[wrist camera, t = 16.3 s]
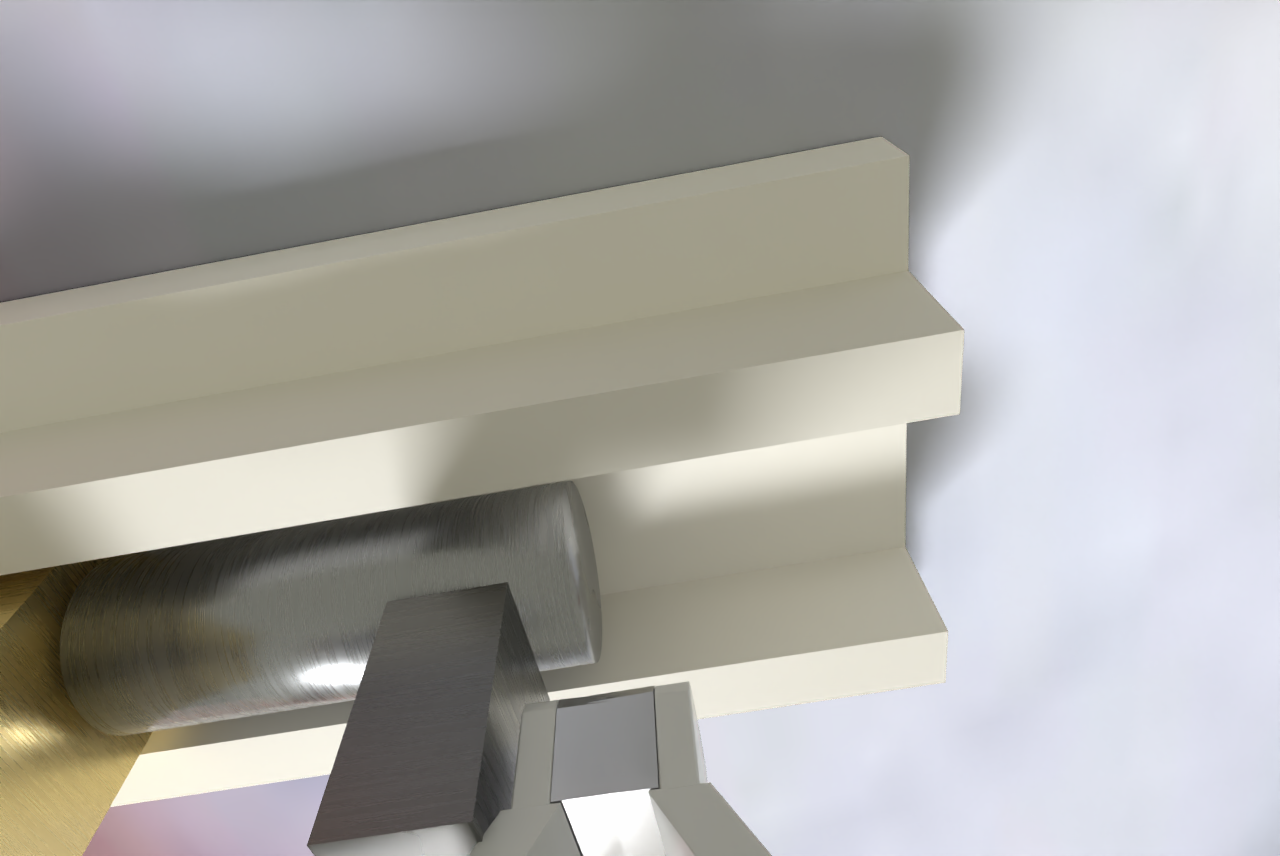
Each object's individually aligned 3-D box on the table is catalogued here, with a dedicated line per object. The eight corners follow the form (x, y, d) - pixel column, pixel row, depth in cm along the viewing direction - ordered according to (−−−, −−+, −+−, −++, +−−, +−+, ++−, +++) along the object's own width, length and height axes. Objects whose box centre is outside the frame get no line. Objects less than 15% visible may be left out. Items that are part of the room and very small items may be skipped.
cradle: (881, 136, 14) (970, 197, 11) (884, 609, 20) (941, 743, 17) (-246, 348, 15) (-489, 464, 12) (90, 732, 21) (-7, 880, 18)
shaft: (567, 446, 15) (543, 801, 9) (602, 574, 17) (602, 944, 11) (131, 520, 16) (-185, 905, 9) (209, 637, 17) (-13, 1026, 11)
